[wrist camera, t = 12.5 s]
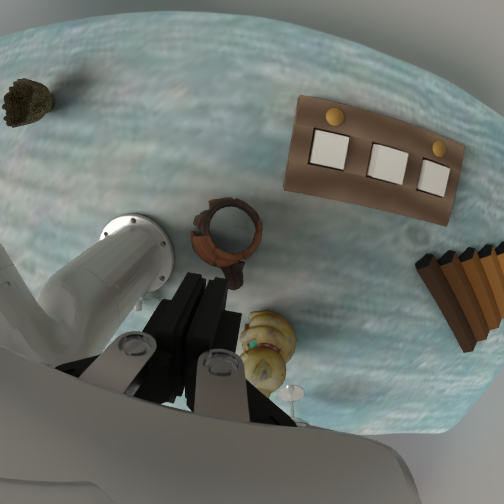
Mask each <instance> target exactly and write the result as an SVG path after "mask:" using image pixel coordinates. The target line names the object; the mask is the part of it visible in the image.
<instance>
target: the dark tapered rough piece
mask: <svg viewBox="0 0 504 504" xmlns="http://www.w3.org/2000/svg"><path fill="white" fill-rule="evenodd" d="M13 85H14V86H13V87H9V92H8V93H7V94H6V95H5V96H4V102H5V104H3V105H2V109H4V110H6V114H7V116H5V117H4V120H5V121H7V122H6V124H7V126H12V128H14V127H18V126H22V125H27V124H31V123H34V122H36V121H38V120H40V119H41V118H42V117H43V116H44V115H45V114H46V113H48V112H49V111H50V110H51V109H52V108H53V105H54V97H53V95H52V94H51V93H50V92H49V90H48V88H47V87H46V86H45V85H43V84H41V83H39V82H35V81H32V80H28V79H25V78H23V79H18V80H17V81H15V82H13Z"/></svg>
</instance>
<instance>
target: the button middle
mask: <svg viewBox="0 0 504 504" xmlns="http://www.w3.org/2000/svg"><path fill="white" fill-rule="evenodd" d="M407 159H408V153H405V152H402V151H399V150H396V149H392V148H389V147H385V146H382V145H376V144H373V146H372V152H371V157H370V162H369V167H368V172H367V175H369V176H372V177H374V178H378V179H382V180H386V181H390V182H393V183H397V184H401V185H402V183H403V178H404V173H405V169H406V164H407Z"/></svg>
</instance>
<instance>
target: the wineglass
mask: <svg viewBox="0 0 504 504" xmlns="http://www.w3.org/2000/svg"><path fill="white" fill-rule="evenodd" d="M278 395H279V397H280V399H282V400H283V401H287V402H290V417H291V418H292V419H293V420H294V422H295V423H296V425H298V426H302V427H305V425H306V424H308V425H310V424H309V423H308V422H306V421H305V420H303V419H300V418H295V417H294V407H293V402H294V401H298V400H300V399H301V398H302V397H303V396H304V390H303V389H302V388H301V387H299V386H294V385H291V386H286V387H283V388H282V389H281V390H280V391H279V393H278Z"/></svg>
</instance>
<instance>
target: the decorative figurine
mask: <svg viewBox="0 0 504 504" xmlns="http://www.w3.org/2000/svg"><path fill="white" fill-rule="evenodd" d="M248 319H249V320H248V322H249V324H245V327H244V331H243V332H242V333H241V336H240V341H241V343H242V347H243V353H242V354H241V355H240V358H241V359H242V360H243V363H244V369H245V378H246V379H247V380H248V381H249V382H250V383H251V384H252V385H254V386H255V387H256V388H257V389H258V390H259V391H260V392H261V393H263V394H264V395H265V396H266V397H267V398H268V399H269V396H270V394H271V393H272V392H274V391H275V390H277V389H278V388H279V387H280V386H281V385H282V384H283V382H284V380H285V377H286V363H287V362H288V361H289V360H290V359H291V357H292V356H293V354H294V352H295V348H296V342H297V338H296V336H295V333H294V331H293V329H292V327H291V325H290V324H289V323H288V322H287V321H286V320H285V319H284V318H283V317H282V316H280V315H279V314H277V313H274V312H270V311H253V312H251V313H250V314H249V317H248Z"/></svg>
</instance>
